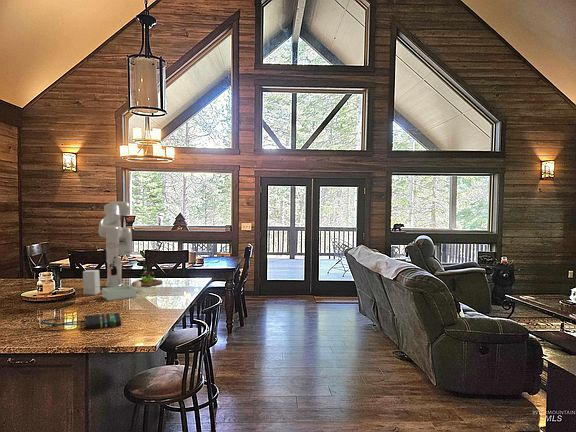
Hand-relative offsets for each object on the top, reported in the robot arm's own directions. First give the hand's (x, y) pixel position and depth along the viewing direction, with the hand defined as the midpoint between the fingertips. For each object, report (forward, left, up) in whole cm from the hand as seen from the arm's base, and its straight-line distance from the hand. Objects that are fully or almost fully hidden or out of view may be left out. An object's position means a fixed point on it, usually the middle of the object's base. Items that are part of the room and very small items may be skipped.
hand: (112, 274), depth 259 cm
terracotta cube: (0, 0, -1) cm, 1 cm away
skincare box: (-20, -8, -15) cm, 26 cm away
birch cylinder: (-8, +18, -15) cm, 25 cm away
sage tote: (0, +4, -15) cm, 16 cm away
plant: (-30, +32, -16) cm, 47 cm away
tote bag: (+52, -29, -16) cm, 62 cm away
